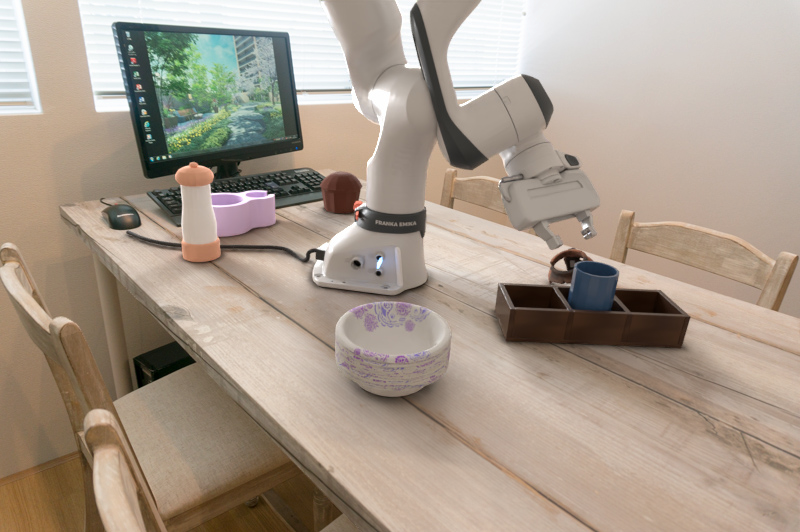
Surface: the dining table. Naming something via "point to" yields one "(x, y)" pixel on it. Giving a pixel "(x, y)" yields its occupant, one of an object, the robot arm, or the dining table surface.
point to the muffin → (340, 192)
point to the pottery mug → (570, 259)
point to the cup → (593, 286)
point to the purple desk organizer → (242, 211)
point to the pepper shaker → (197, 214)
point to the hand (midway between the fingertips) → (575, 242)
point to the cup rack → (589, 317)
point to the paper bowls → (392, 347)
